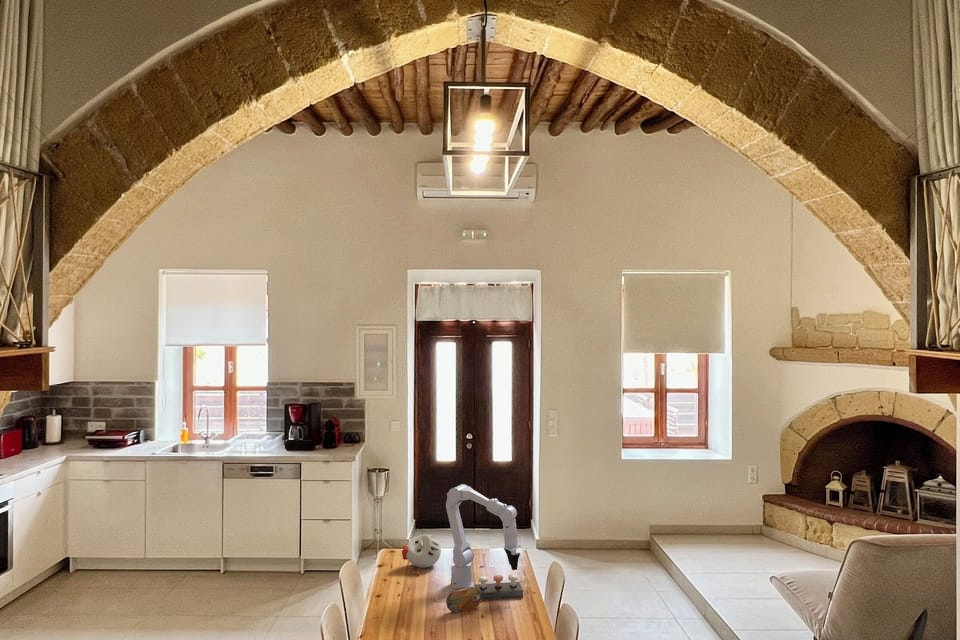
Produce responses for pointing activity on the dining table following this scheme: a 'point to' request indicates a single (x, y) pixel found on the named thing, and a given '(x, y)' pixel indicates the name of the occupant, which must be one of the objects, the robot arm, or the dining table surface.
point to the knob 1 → (483, 581)
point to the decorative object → (422, 551)
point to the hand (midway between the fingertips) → (513, 567)
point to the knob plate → (500, 591)
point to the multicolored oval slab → (463, 600)
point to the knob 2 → (513, 579)
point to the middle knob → (498, 580)
